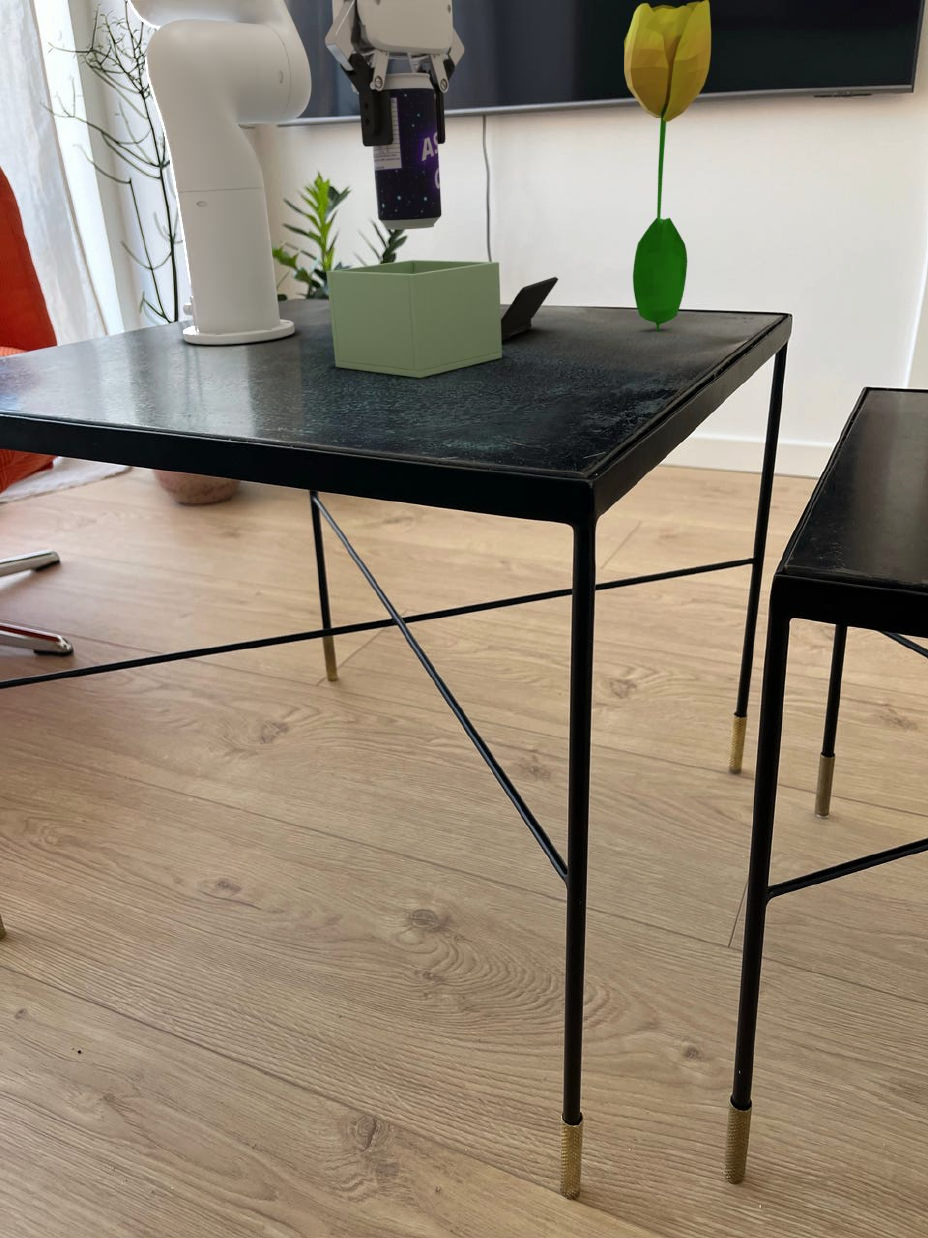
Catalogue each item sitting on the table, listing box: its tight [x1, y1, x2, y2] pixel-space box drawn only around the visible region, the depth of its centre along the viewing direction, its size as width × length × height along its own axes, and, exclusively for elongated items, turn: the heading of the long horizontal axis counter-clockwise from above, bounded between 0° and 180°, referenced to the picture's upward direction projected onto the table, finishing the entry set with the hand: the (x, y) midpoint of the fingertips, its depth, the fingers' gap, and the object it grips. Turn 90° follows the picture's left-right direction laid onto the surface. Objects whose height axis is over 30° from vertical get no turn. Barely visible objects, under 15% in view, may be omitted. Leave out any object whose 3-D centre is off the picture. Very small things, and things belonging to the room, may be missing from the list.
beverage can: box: [372, 72, 443, 231], centre depth 85 cm, size 6×6×12 cm
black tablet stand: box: [501, 276, 559, 342], centre depth 104 cm, size 12×7×10 cm
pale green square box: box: [325, 259, 503, 379], centre depth 91 cm, size 11×11×9 cm
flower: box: [623, 0, 712, 331], centre depth 98 cm, size 9×8×30 cm
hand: (404, 142), depth 85 cm, fingers closed on beverage can, 5 cm apart
